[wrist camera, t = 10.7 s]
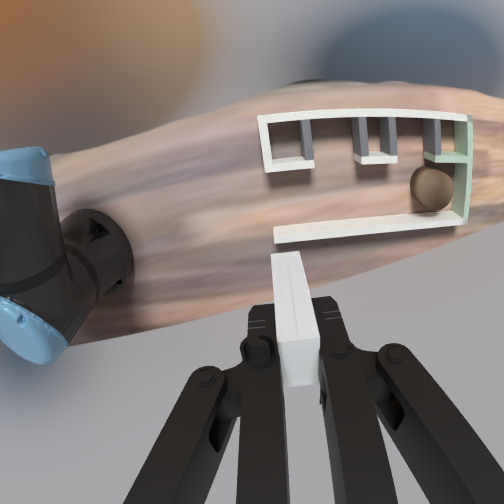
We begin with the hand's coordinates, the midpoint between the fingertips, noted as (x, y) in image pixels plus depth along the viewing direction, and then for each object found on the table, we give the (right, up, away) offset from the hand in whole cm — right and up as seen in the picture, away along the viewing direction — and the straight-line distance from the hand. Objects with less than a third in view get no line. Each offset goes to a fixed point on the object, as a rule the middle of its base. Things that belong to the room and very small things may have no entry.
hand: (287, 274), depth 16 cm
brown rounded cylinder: (+24, +11, +21) cm, 34 cm away
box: (+15, +13, +21) cm, 28 cm away
